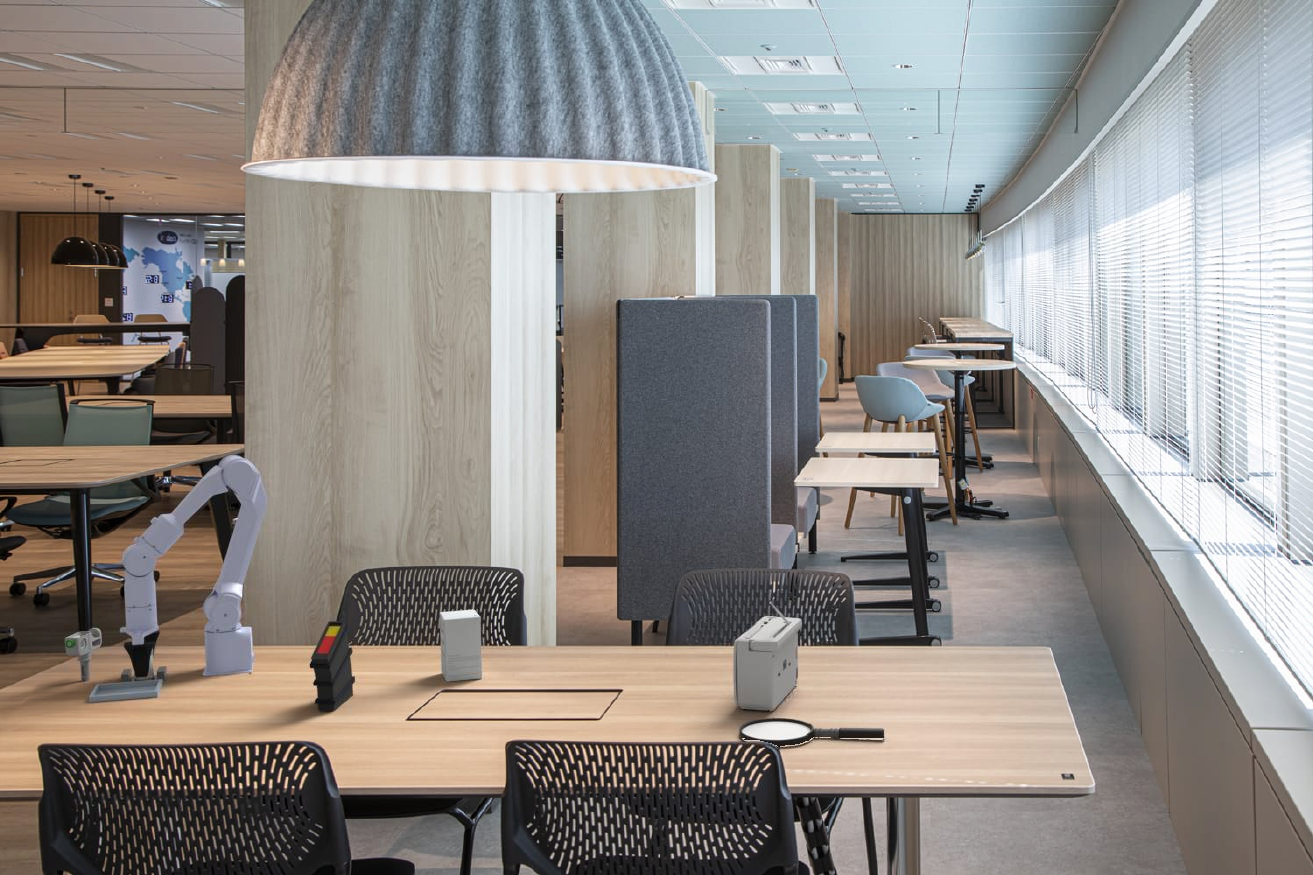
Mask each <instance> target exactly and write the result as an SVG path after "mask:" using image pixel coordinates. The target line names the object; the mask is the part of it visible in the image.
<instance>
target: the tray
mask: <svg viewBox="0 0 1313 875" xmlns="http://www.w3.org/2000/svg"><path fill="white" fill-rule="evenodd" d="M163 684H164V681H163V679H159V680H146V681H134V682H121V681H120V682H111V683H109V682H108V683H97V684H95V686H94V688H93V689H92V691H91V692H90V694H89V696H88V703H89V704H93V703H104V702H116V701H117V702H118V701H129V700H142V699H152V698H153V699H154V698H156V699H157V698H158V697H159V695H160V693H161V690H162V688H163V686H164V685H163Z"/></svg>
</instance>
